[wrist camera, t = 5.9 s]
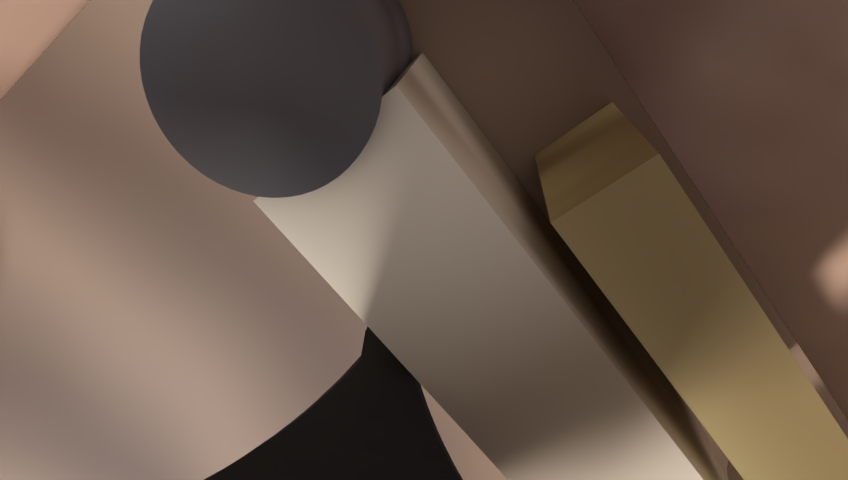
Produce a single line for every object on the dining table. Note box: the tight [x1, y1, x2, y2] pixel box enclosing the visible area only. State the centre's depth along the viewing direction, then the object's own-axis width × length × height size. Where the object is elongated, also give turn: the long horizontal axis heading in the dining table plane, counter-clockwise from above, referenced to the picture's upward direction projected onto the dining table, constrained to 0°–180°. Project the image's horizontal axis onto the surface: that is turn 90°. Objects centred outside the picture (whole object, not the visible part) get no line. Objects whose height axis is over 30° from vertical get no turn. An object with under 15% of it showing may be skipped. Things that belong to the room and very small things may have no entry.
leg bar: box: [140, 0, 727, 480], centre depth 10 cm, size 11×3×3 cm, turn 38°
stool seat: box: [0, 0, 848, 480], centre depth 12 cm, size 17×17×5 cm
